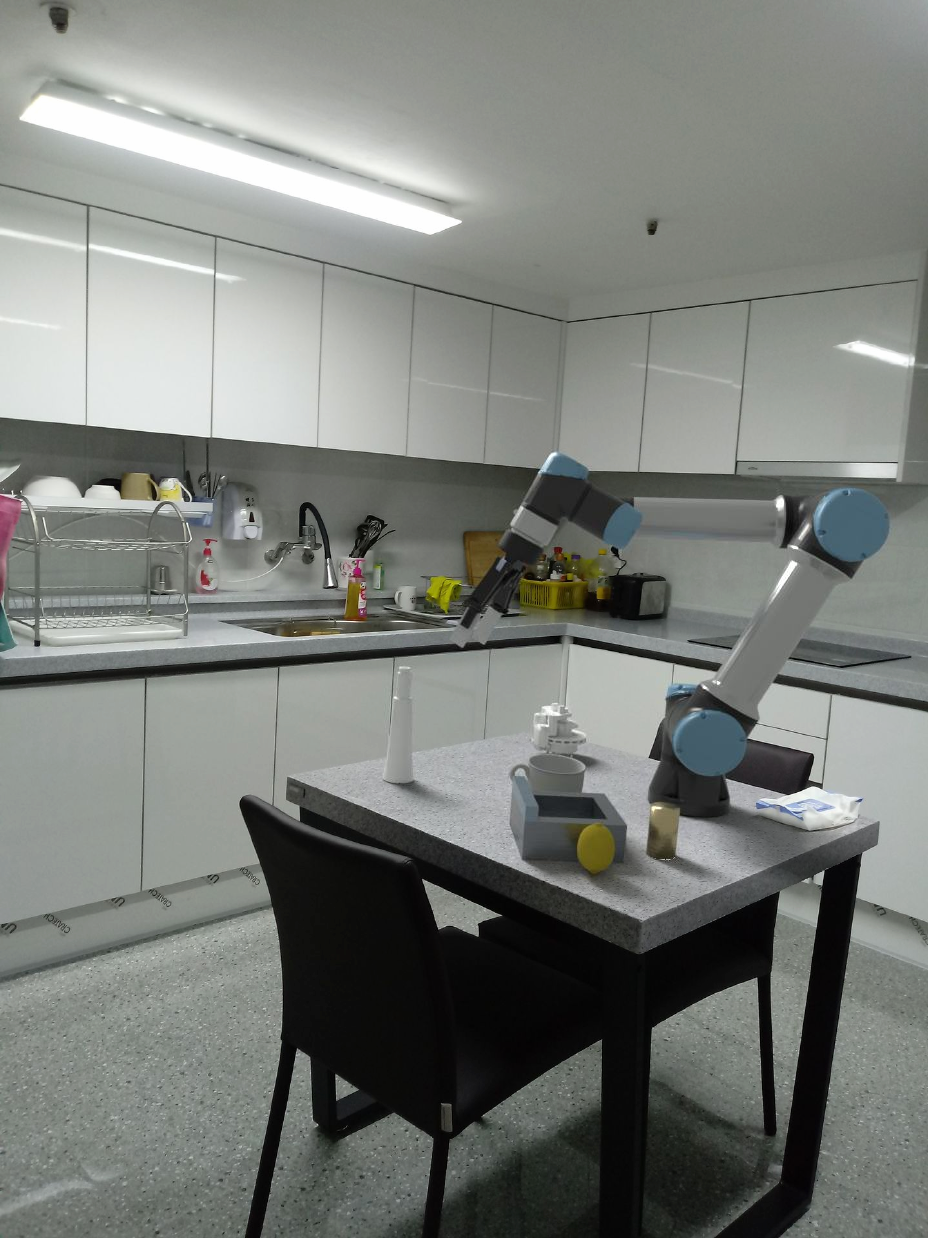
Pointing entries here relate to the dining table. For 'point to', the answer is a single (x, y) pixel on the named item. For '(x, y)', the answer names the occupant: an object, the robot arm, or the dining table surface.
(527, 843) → the jig
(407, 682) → the cosmetic bottle
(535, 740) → the mechanical part
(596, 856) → the lemon
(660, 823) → the brass cylinder
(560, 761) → the teacup
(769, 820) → the dining table surface
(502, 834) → the dining table surface
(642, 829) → the dining table surface
